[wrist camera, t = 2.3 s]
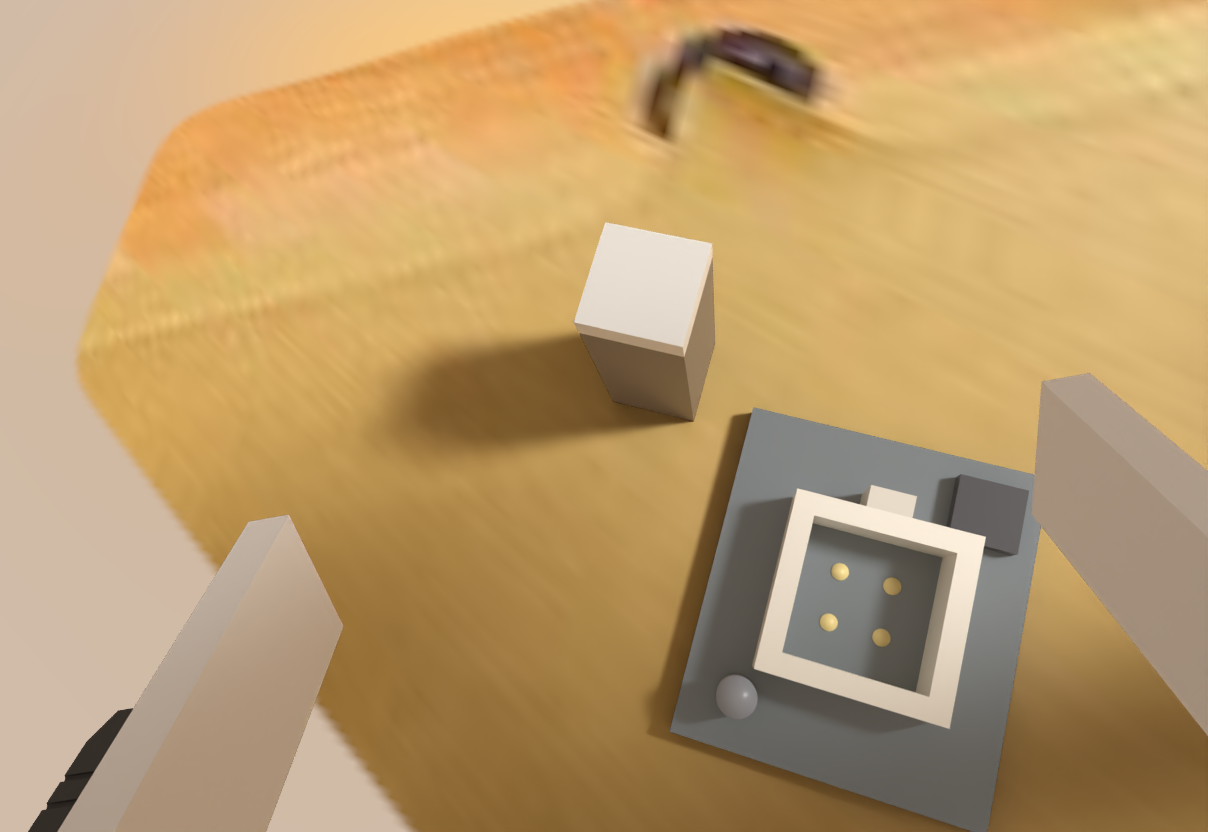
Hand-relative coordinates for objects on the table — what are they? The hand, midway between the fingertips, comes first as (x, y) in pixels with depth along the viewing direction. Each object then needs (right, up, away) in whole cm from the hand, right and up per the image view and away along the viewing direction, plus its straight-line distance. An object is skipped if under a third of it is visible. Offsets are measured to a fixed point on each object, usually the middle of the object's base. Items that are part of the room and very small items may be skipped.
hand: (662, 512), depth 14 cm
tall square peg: (+2, +4, +28) cm, 29 cm away
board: (+11, -7, +24) cm, 27 cm away
